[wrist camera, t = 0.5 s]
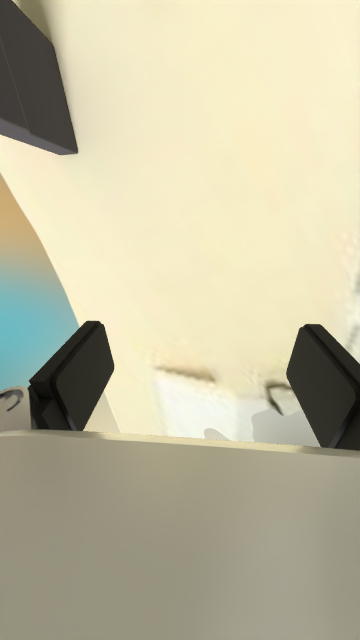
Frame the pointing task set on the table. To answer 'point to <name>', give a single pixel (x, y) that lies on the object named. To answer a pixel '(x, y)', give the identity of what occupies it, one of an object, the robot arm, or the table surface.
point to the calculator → (31, 86)
